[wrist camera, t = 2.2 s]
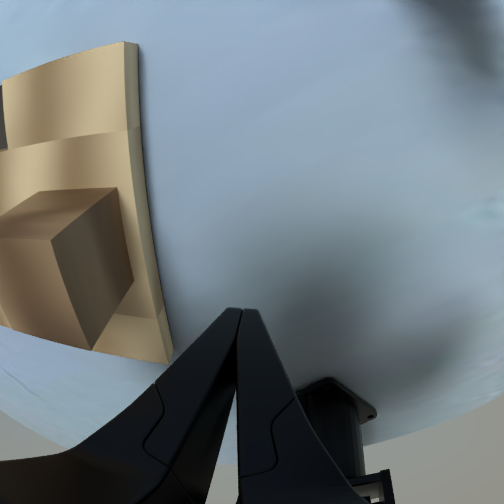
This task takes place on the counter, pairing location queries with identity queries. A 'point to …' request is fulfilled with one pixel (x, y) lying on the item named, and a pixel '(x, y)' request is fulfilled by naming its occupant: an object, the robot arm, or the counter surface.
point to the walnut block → (64, 264)
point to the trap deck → (89, 170)
